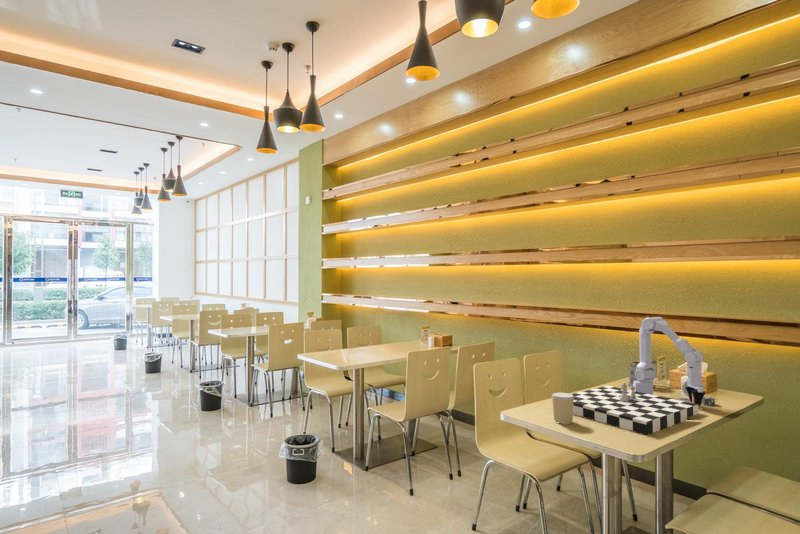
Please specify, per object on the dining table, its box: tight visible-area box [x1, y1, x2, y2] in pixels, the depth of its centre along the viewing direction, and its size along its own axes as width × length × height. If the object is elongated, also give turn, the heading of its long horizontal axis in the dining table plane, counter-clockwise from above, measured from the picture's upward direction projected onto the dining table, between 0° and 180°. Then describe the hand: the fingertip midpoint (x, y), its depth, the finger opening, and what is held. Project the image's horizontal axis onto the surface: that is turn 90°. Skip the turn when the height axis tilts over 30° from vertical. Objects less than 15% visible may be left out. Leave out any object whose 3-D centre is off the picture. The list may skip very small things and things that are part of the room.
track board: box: [677, 397, 703, 410], centre depth 227 cm, size 7×21×1 cm, turn 166°
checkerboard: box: [571, 382, 699, 436], centre depth 217 cm, size 45×45×15 cm
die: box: [701, 396, 716, 407], centre depth 225 cm, size 4×5×5 cm
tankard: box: [627, 358, 658, 388], centre depth 269 cm, size 20×13×15 cm, turn 109°
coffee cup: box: [551, 391, 574, 425], centre depth 203 cm, size 9×9×12 cm
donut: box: [680, 378, 689, 397], centre depth 243 cm, size 10×4×10 cm, turn 42°
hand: (695, 403), depth 220 cm, fingers open, 6 cm apart
